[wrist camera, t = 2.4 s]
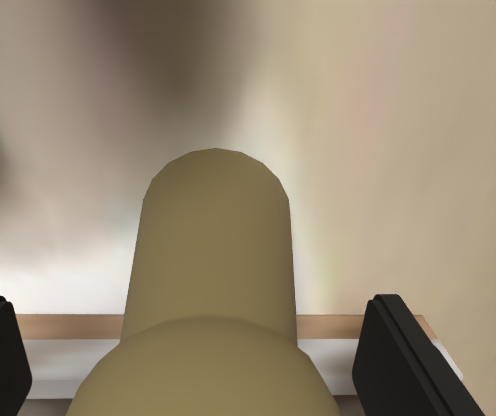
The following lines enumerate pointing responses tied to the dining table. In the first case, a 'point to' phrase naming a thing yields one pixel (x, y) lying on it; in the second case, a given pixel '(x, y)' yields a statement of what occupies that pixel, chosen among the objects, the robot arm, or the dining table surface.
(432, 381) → the robot arm
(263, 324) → the cork
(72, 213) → the dining table surface
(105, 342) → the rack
